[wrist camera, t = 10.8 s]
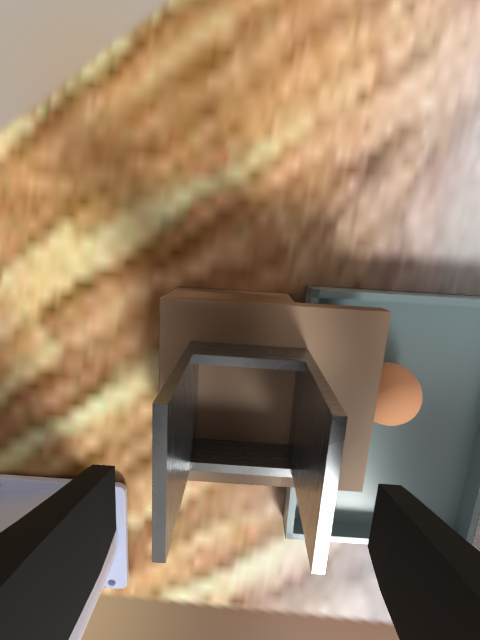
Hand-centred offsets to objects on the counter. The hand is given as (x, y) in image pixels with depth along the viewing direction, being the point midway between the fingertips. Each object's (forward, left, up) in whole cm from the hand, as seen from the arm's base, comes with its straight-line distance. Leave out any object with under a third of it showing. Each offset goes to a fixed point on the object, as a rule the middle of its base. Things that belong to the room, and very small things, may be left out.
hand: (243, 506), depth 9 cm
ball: (+7, 0, -8) cm, 11 cm away
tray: (+9, -2, -10) cm, 14 cm away
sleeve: (0, 0, -6) cm, 6 cm away
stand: (+1, 0, -10) cm, 10 cm away
